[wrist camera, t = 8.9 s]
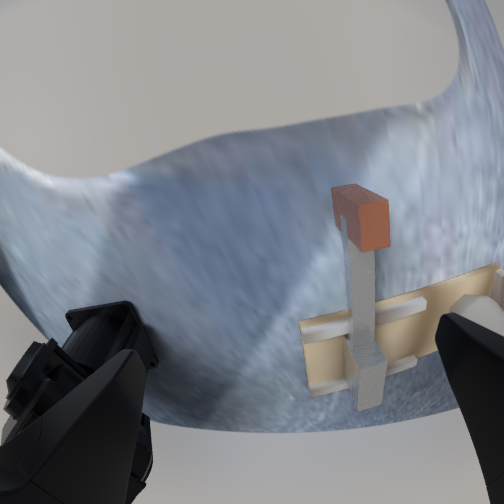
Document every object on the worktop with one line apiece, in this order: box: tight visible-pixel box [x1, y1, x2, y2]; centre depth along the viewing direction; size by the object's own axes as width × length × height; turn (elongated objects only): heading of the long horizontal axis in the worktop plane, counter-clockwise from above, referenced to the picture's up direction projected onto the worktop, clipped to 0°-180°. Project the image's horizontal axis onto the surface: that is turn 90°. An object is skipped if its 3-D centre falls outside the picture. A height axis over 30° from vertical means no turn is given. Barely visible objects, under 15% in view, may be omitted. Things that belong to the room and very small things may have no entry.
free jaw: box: [331, 184, 390, 412], centre depth 18 cm, size 2×16×4 cm, turn 12°
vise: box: [299, 263, 504, 397], centre depth 20 cm, size 20×7×5 cm, turn 102°
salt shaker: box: [449, 294, 504, 336], centre depth 15 cm, size 6×6×13 cm
